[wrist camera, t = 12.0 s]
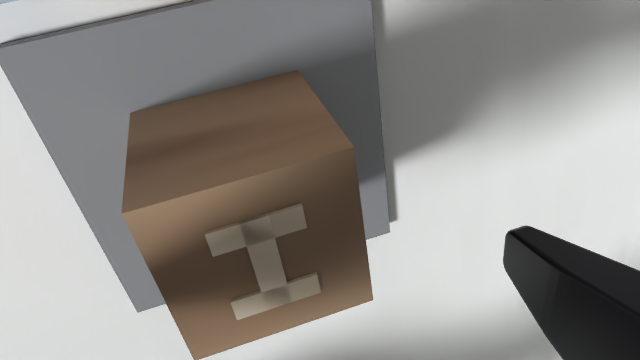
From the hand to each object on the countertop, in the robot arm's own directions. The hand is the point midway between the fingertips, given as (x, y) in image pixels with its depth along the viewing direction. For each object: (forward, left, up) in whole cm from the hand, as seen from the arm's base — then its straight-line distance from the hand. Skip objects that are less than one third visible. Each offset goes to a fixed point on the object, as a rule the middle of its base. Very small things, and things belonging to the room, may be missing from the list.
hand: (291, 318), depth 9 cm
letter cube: (0, 0, -6) cm, 6 cm away
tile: (0, 0, -7) cm, 7 cm away
